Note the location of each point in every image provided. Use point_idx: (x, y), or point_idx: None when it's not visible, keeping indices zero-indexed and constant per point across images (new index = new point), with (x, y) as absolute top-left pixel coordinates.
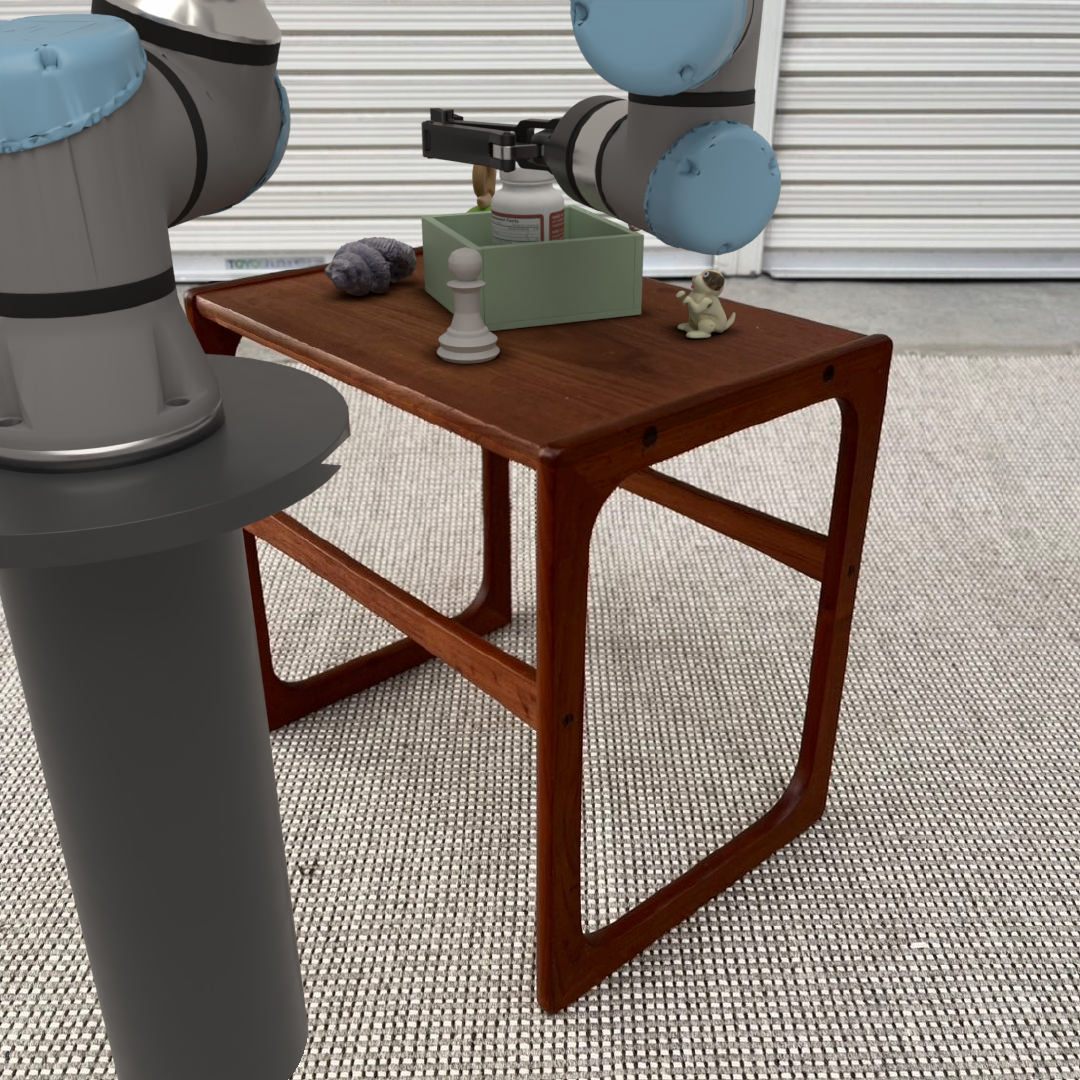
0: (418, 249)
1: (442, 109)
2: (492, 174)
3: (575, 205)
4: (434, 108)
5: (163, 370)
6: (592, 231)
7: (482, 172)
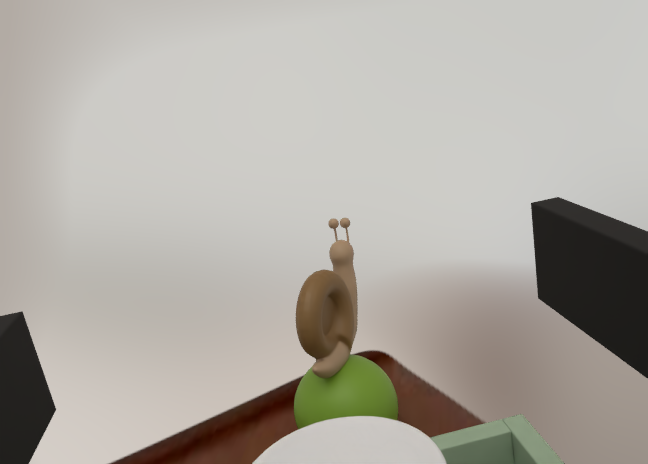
0: (259, 398)
1: (3, 331)
2: (344, 305)
3: (525, 421)
4: (1, 318)
5: None
6: None
7: (313, 322)
